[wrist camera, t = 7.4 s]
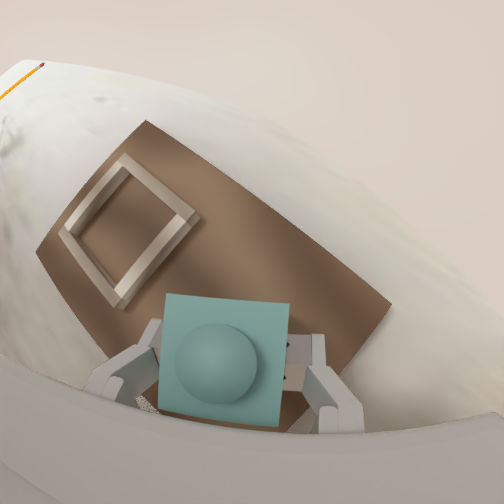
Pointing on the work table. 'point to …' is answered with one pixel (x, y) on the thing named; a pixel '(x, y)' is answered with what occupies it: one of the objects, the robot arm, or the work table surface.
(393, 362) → the work table surface
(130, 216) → the brown board with frame
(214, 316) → the studded block
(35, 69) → the pencil
